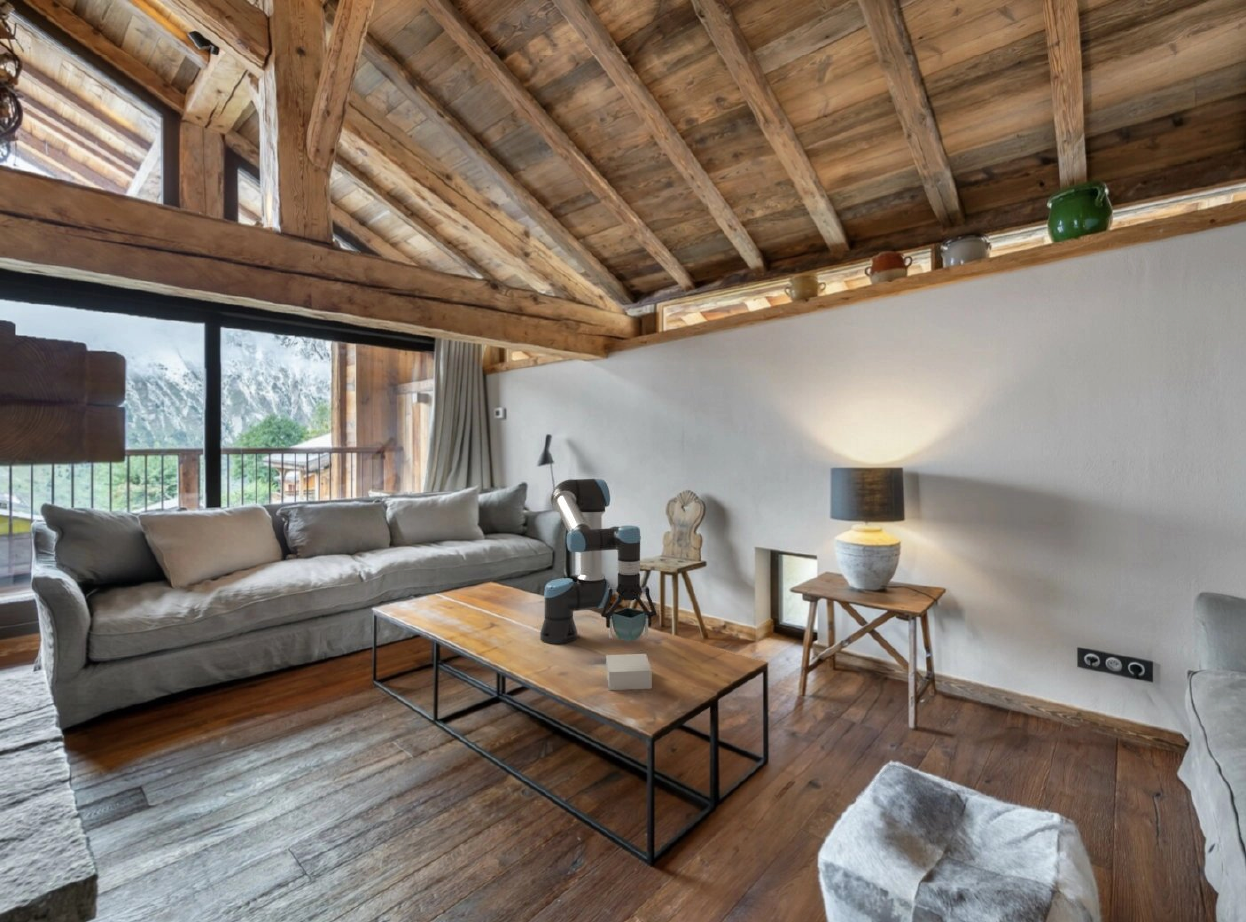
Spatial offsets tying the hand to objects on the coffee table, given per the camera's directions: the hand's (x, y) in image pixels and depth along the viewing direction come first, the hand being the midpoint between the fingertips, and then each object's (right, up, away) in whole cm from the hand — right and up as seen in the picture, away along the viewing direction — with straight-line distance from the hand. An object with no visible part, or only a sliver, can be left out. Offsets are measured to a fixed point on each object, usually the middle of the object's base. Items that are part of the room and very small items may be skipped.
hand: (628, 636), depth 187 cm
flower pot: (0, -1, 0) cm, 1 cm away
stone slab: (0, -15, +1) cm, 15 cm away
